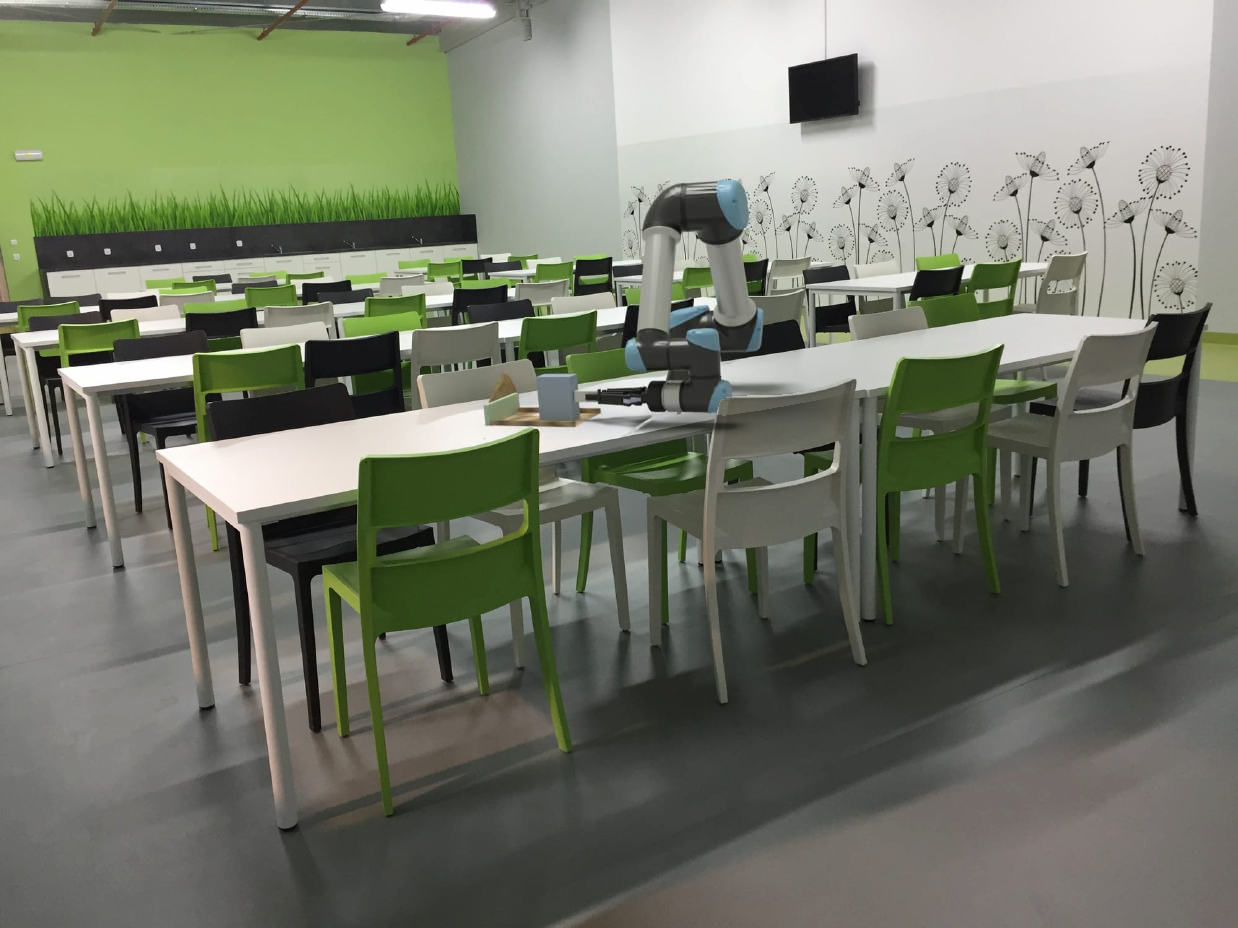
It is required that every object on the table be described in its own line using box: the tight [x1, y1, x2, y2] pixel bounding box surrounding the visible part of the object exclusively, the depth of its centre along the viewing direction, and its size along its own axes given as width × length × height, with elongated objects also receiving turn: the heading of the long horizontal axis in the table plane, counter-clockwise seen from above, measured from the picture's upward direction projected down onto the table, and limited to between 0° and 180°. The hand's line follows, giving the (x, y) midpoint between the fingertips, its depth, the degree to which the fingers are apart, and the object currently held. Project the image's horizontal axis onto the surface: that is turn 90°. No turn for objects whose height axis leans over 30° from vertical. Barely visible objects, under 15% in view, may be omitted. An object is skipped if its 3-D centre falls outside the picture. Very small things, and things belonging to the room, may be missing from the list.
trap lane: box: [489, 406, 602, 428], centre depth 250 cm, size 23×17×2 cm
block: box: [535, 373, 581, 421], centre depth 247 cm, size 9×4×11 cm, turn 69°
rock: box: [488, 373, 521, 405], centre depth 268 cm, size 11×9×10 cm
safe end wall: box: [483, 392, 521, 426], centre depth 254 cm, size 1×17×6 cm, turn 158°
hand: (575, 396), depth 245 cm, fingers closed
